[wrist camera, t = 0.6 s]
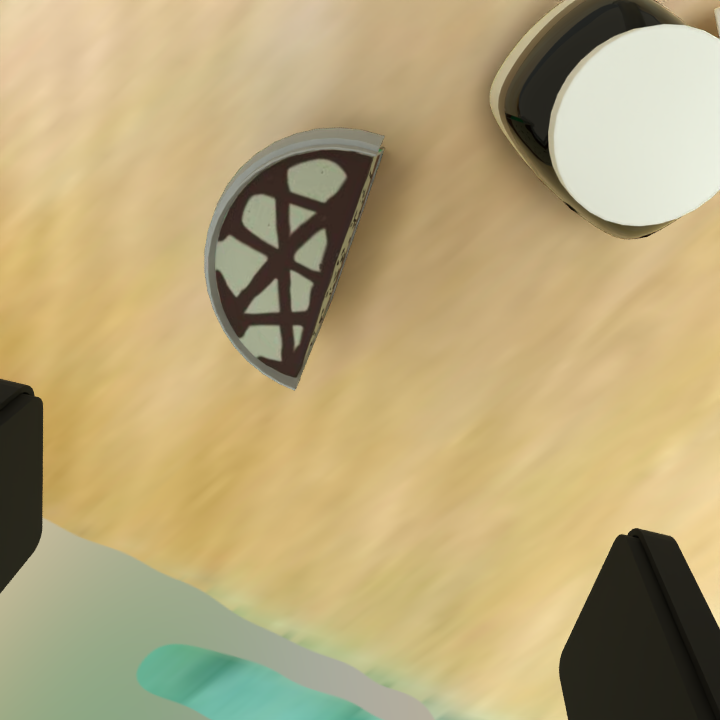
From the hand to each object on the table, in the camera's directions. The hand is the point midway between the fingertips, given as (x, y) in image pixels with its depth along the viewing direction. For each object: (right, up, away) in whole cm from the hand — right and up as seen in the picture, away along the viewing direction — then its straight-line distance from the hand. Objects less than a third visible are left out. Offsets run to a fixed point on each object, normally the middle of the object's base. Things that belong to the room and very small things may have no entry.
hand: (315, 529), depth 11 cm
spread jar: (+14, +16, +23) cm, 32 cm away
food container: (-2, +11, +27) cm, 30 cm away
